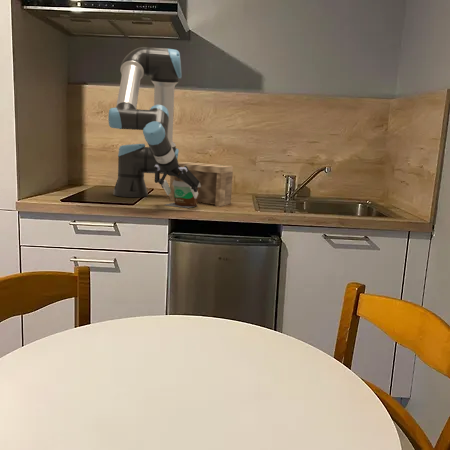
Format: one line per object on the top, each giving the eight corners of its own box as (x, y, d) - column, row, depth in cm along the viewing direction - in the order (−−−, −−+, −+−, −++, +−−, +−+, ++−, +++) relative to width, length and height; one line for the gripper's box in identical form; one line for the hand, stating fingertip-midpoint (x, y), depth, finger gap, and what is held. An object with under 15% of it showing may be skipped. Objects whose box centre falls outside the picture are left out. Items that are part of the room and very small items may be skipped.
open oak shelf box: (169, 200, 232) (170, 162, 229) (182, 197, 243) (184, 161, 240) (219, 206, 223) (221, 167, 220) (230, 203, 234) (233, 166, 231)
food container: (166, 204, 217) (167, 180, 215) (173, 203, 222) (174, 179, 221) (193, 207, 212) (194, 183, 211) (199, 206, 218) (201, 182, 216)
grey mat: (164, 205, 217) (164, 204, 217) (173, 203, 224) (173, 202, 224) (188, 208, 213) (188, 207, 213) (197, 206, 220) (197, 205, 220)
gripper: (134, 162, 202) (153, 198, 219) (190, 167, 193) (206, 204, 210) (142, 148, 206) (160, 184, 223) (197, 152, 197) (212, 190, 214)
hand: (182, 194), depth 216 cm, fingers open, 12 cm apart
